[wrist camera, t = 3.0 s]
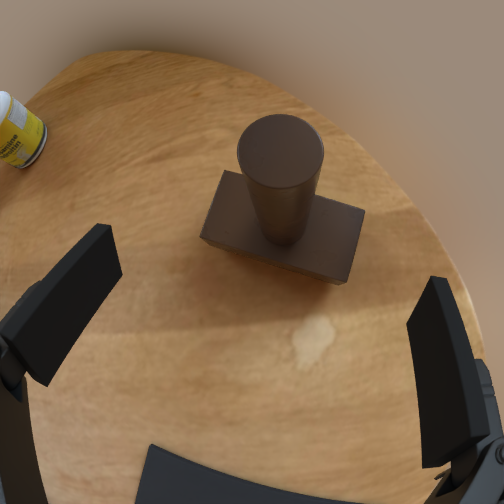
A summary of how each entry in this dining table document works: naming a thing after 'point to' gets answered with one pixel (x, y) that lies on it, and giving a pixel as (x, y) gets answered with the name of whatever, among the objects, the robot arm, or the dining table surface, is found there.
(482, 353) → the dining table surface
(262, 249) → the scrub brush
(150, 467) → the stain mat
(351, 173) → the dining table surface
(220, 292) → the dining table surface
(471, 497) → the robot arm
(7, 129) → the pill bottle
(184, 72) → the dining table surface
